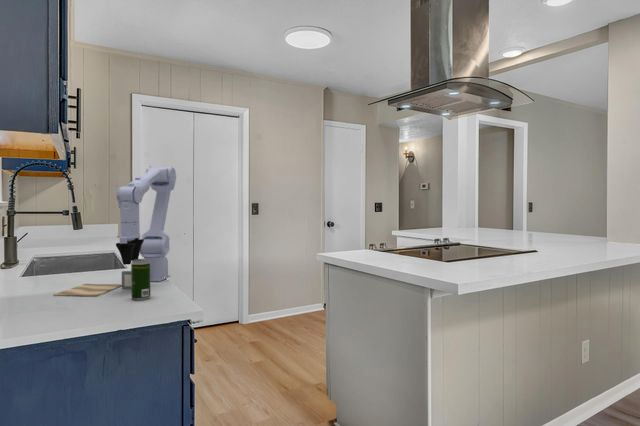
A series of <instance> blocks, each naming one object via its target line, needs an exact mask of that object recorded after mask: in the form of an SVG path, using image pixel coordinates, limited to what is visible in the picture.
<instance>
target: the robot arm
mask: <svg viewBox="0 0 640 426" xmlns="http://www.w3.org/2000/svg"><path fill="white" fill-rule="evenodd" d="M176 180H177V174H176V170H175V168H174V167H173V166H148V167H147V168H146V169H145V173H144V175H143V176H136V177H135V178H134V180H132V181H131V182H129V183H128V184H127V185H126V186H121V187H119V188H118V189H117V191H116V194H115V196H116V197H115V198H116V201H117V203H118V205H117V206H118V208H119V210H120V234H118V235H117V236H116V237H117V238H119V242H116V243H115V247H116V248H117V250H118V252H119V254H120V258H121V261H122V265H123V266H124V265H131V263H132V260H135V259H139V257H140V255H141V256H142V258H143V259H149V261H150V282H161V281H165V280H166V279H168V278H171V275H170V274H169V260H168V258H167V254H169V252H170V240H171V239H170V236H169V235H168V234H167V233H166V232H165V231H164V230H165V224H166V220H167V219H166V218H167V213H168V208H169V201H170V198H171V197H170V196H171V192H172V191H173V190H175V186H176ZM150 188H151V190H153V191H154V192H156V193H155V194H156V195H155V200H154V205H153V210H152V216H151V220H150V226H149V230H147V231H145V232H144V233H143V234H142V235H141V232H140V203H142V202H143V197H144V195H145V194H146V193H147V192H148V191H149V190H150ZM164 277H165V278H166V279H165V278H164Z"/></svg>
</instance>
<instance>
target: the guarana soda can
mask: <svg viewBox="0 0 640 426" xmlns="http://www.w3.org/2000/svg"><path fill="white" fill-rule="evenodd" d="M130 265H131V267H130V271H131V288H132V289H131V298H132V300H133V301H145V300H149V299H150V297H151V281H150V261H149V259H144V258H138V259H135V260H132V261H131V264H130Z"/></svg>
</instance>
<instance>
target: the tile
mask: <svg viewBox="0 0 640 426" xmlns="http://www.w3.org/2000/svg"><path fill="white" fill-rule="evenodd" d="M121 284H122V286H121V290H132V288H131V270H123V271H121Z"/></svg>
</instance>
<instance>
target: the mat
mask: <svg viewBox="0 0 640 426" xmlns="http://www.w3.org/2000/svg"><path fill="white" fill-rule="evenodd" d="M119 288H122V283H121V284H119V283H118V284H117V283H116V284H115V283H84V284H81V285H78V286H74V287H71V288H69V289H66V290H62V291H60V292H57V293H54V294H53V295H52V296H53V297H87V298H89V297H90V298H91V297H99V296H101V295H103V294H106V293H110V292H111V291H114V290H116V289H119Z"/></svg>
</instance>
